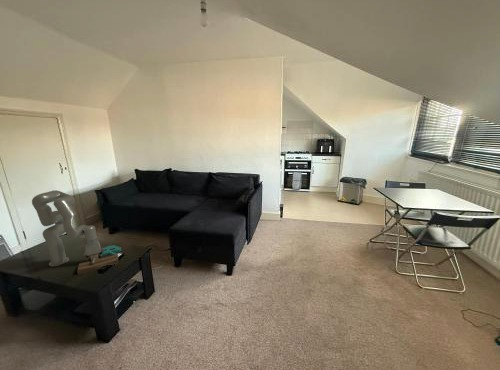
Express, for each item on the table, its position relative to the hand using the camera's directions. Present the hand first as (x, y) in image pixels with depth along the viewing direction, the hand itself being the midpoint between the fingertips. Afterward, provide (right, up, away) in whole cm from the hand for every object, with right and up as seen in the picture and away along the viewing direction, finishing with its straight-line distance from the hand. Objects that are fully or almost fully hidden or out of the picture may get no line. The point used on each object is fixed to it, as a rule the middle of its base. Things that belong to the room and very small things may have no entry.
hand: (95, 260), depth 176 cm
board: (+7, -2, -5) cm, 9 cm away
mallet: (+3, -2, -4) cm, 5 cm away
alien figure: (+1, +1, +14) cm, 14 cm away
